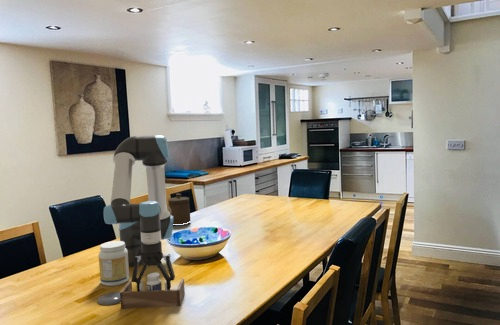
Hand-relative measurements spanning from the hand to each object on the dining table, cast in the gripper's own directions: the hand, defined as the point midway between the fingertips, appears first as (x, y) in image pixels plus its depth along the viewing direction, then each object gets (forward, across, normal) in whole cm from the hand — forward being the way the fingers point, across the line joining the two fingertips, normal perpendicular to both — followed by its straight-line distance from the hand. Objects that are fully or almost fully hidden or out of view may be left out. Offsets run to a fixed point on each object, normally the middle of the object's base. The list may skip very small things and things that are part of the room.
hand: (154, 298), depth 155 cm
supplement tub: (+1, -22, +21) cm, 30 cm away
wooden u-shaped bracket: (0, 0, -1) cm, 1 cm away
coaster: (0, -17, +2) cm, 17 cm away
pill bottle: (+1, 0, 0) cm, 1 cm away
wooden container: (+1, -10, +128) cm, 128 cm away
